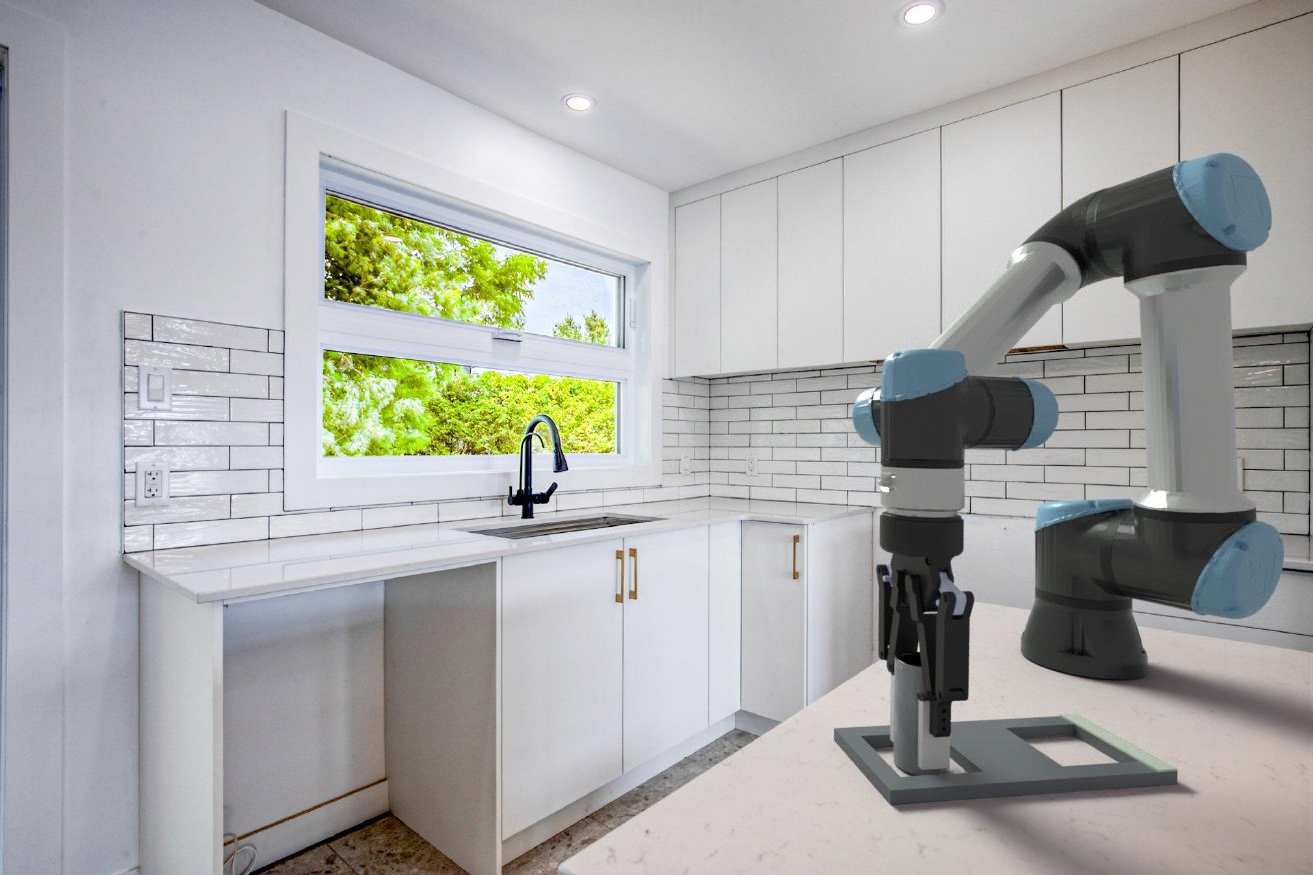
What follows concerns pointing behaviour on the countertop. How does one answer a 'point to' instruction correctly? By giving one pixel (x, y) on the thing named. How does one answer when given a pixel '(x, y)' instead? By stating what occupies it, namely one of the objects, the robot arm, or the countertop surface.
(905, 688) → the grey hollow cylinder
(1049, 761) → the panel
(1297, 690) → the countertop surface
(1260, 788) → the countertop surface
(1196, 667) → the countertop surface
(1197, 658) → the countertop surface
